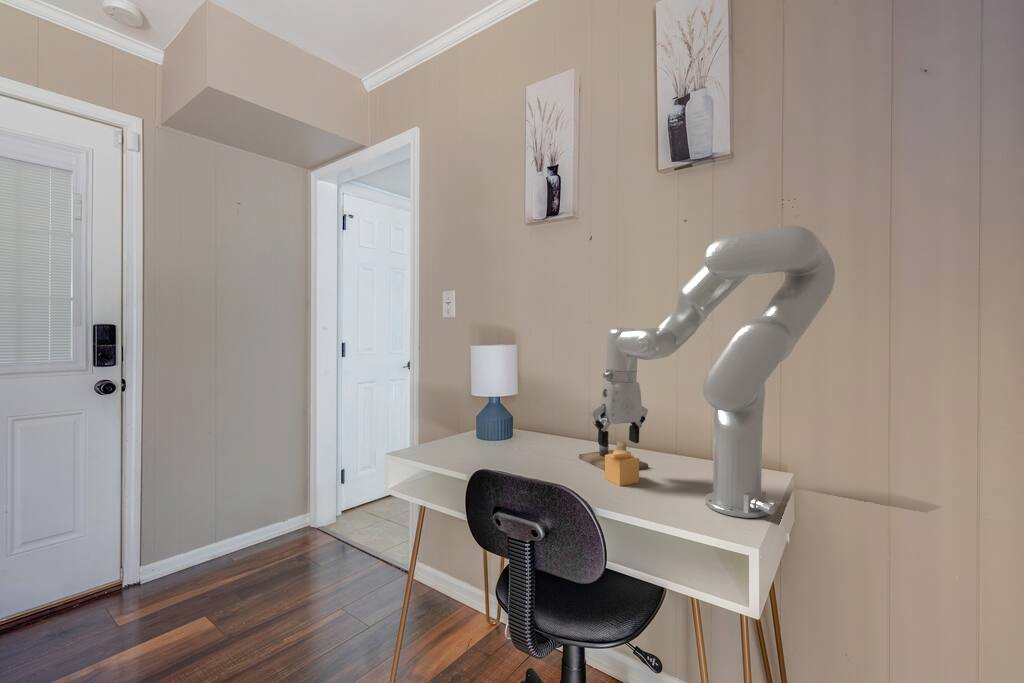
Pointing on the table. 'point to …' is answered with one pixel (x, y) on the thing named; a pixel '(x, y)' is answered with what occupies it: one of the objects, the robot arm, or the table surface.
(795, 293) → the robot arm
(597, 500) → the table surface
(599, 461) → the post board
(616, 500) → the table surface
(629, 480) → the knobbed tan cube
